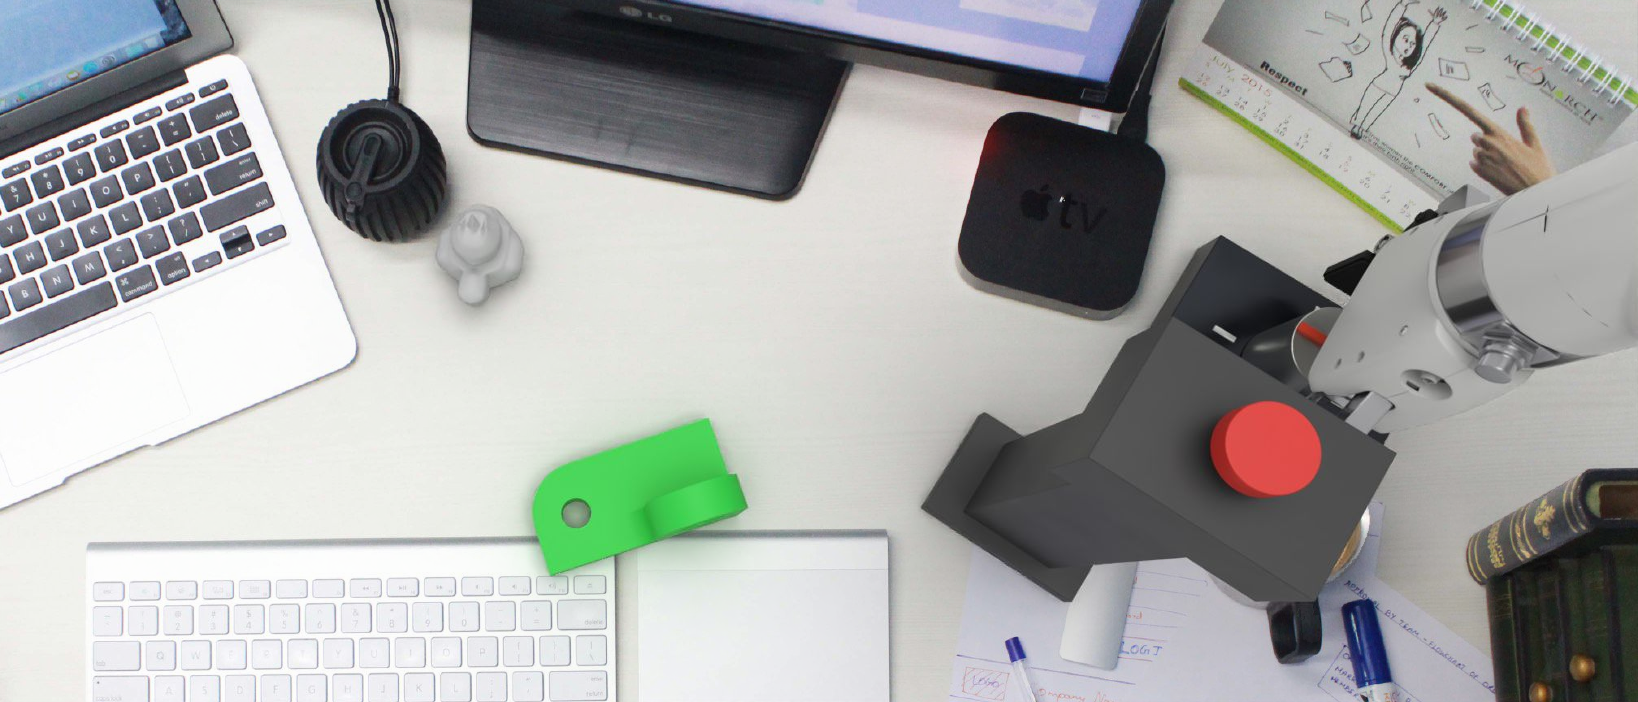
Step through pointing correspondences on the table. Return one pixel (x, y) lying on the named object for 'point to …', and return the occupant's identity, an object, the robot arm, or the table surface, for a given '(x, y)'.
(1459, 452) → the table surface
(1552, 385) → the table surface
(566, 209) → the table surface
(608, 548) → the mechanical part
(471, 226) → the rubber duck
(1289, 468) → the button
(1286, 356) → the dial
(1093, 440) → the button stand
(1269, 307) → the dial panel
